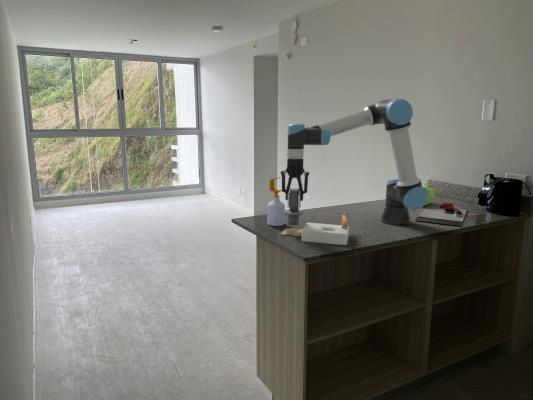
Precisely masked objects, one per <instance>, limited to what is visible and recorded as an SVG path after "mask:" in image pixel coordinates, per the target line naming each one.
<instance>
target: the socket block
mask: <svg viewBox="0 0 533 400" xmlns="http://www.w3.org/2000/svg"><path fill="white" fill-rule="evenodd" d="M300 237H301V236H300ZM349 237H350V225H348V224H347V225H342V224H331V223H330V224H329V223H328V224H327V223H318V222H317V223H316V222H306V224H305V225H304V226H303V228H302V237H301V238H300V239H301V242H308V243H317V244H318V243H319V244H320V243H321V244H328V245H329V244H330V245H331V244H332V245H338V246H339V245H340V246H344V245H345V246H347V245H348V241H349V239H350V238H349Z"/></svg>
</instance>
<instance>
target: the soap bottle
mask: <svg viewBox="0 0 533 400" xmlns="http://www.w3.org/2000/svg"><path fill="white" fill-rule="evenodd" d="M280 178H281V179H282V176H279V177H275V178H271V179H270V180H269V192H273V194H274V195H273V196H272V200H270V202H268V203H267V208H266V209H267V210H266V211H267V212H266V218H267V219H266V220H267V221H266V224H267V225H268V226H270V225H271V227H282V226H284V225H285V223H286V222H285V217H286V216H285V215H286V214H285V213H284V212H285V210H286V205H285V203H284V202H283V201H281V200H280V195H279V193H280V192H282V189H277V188H275V181H276V180H277V179H280Z"/></svg>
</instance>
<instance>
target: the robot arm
mask: <svg viewBox="0 0 533 400" xmlns="http://www.w3.org/2000/svg"><path fill="white" fill-rule="evenodd" d="M413 109H414V108H413V107H412V104H411V103H410V102H409V101H407V100H406V99H402V98H390V99H389V98H388V99H383V100H381V101H377V102H376V103H373V104H372V105H368V106H365V107H364V109H362V110H359V111H356V112H354V113H350V114H347V115H344V116H341V117H338V118H335V119H332V120H328V121H325V122H322V123H318V124H316V125H313V126H310V127H308V126H307V127H305V124H302V123H290V124H289V125H288V128H287V153H286V154H287V155H286V156H287V159H286V168H285V170H281V171H280V175H281V190H282V191H281V192H282V193H285V201H287V208H290V189H291V185H292V181H293V179H296V181H297V184H298V189H299V195H298V208H299V209H301V205H302V202H303V200H304V194H307V193H308V185H309V176H310V171H306V170H305V168H304V156H305V155H304V154H305V146H327V145H329V143H330V142H331V137H333V136H337V135H340V134H343V133H346V132H348V131H352V130H355V129H359V128H362V127H364V126H367V125H368V126H370V127H371V126H375V125H382V124H383V125H384V130H385V132H387V133H388V134H389V138H390V142H391V147H392V153H393V160H394V162H395V163H394V164H395V167H396V173H397V179H396V178H391V179H388V180H387V181H386V191H385V205H384V207H383V211H382V213H381V216H380V221H381V222H382V223H383V224H384V223H385V224H388V225H395V226H407V225H409V224H411V220H412V217H411V215H410V211H409V210H412V211H413V210H419V209H420V210H421V209H422V208H423V207H424V204H425V203H426V202H427V199H428V193H427V191H426V190H425V189H424V188H423V187H422V185H423V184H422V180H421V178H419V177H418V176H417V170H416V166H415V160H414V154H413V147H412V143H411V138H410V133H409V132H410V131H409V129H410V127H411V126H412V123H411V119H412V117H413V114H414V112H413V111H414V110H413ZM286 175H288V181H287V184H286ZM302 175H303V176H304V182H302V177H301V176H302ZM303 183H304V185H303Z"/></svg>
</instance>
